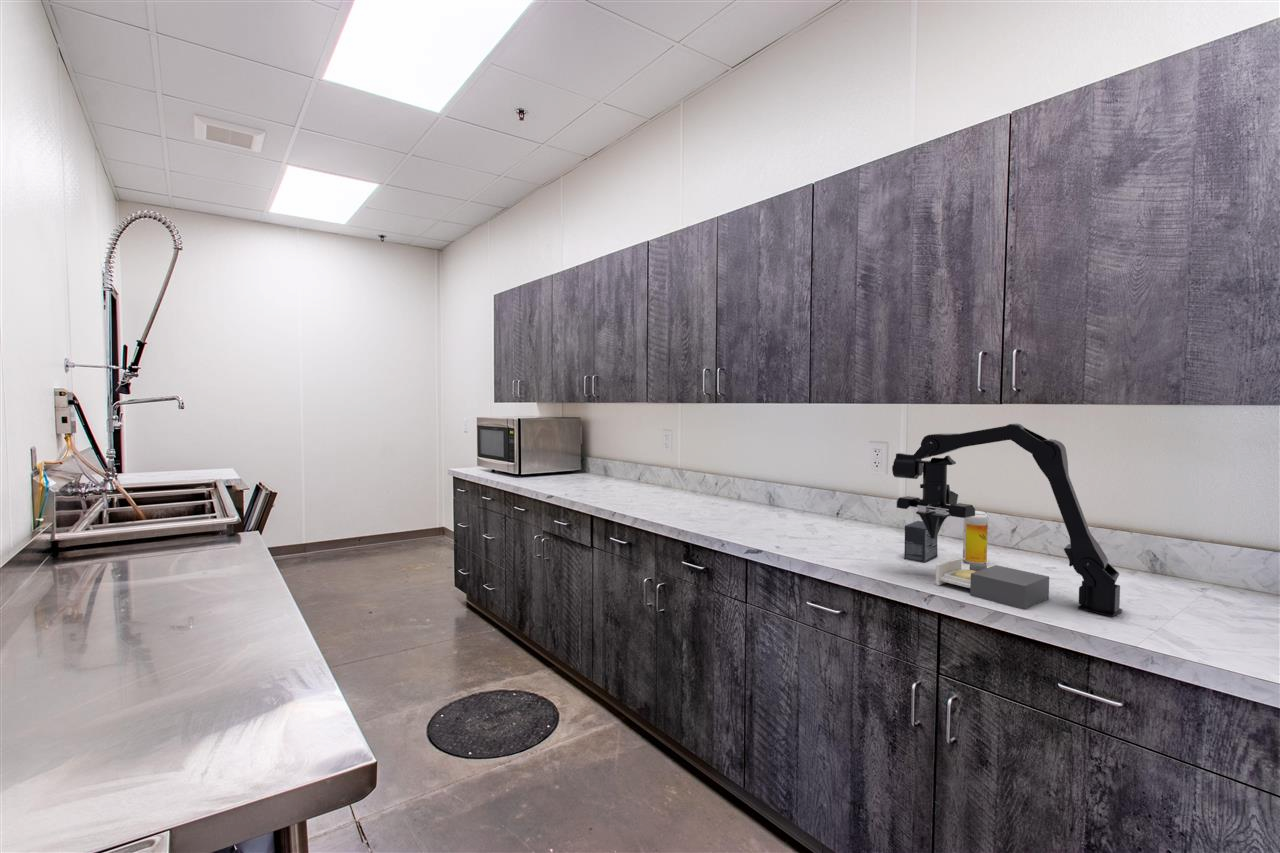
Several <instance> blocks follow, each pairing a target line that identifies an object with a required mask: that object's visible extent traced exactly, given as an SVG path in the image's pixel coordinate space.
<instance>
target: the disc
mask: <svg viewBox="0 0 1280 853" xmlns="http://www.w3.org/2000/svg"><path fill="white" fill-rule="evenodd" d="M974 572H977V571H973V570H970V569H963V568H961V569H960V570H956V571H955V577H959V578H963V579H967V580H971V573H974Z"/></svg>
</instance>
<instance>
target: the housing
mask: <svg viewBox="0 0 1280 853" xmlns="http://www.w3.org/2000/svg"><path fill="white" fill-rule="evenodd" d="M969 589H970V592H969V593H970V594H969V595H970V596H972V597H975V598H980V599H983V600H987V601H991V602H995V603H999V604H1002V605H1006V606H1010V607H1013V608H1018V609H1020V610H1021V609H1022V610H1026V609H1030V608H1031V607H1033V606H1036V605H1037V604H1040V603H1042V602H1044V600H1045V601H1046V599H1047V600H1049V599H1048V598H1050V576H1049V575H1045V574H1039V573H1034V572H1029V571H1025V570H1021V569H1016V568H1012V567H1011V568H1010V567H1008V566H1007V567H1006V566H1001V565H996V564H995V565H992V566H989V567H987V568H986V569H983V570H980V571H977V572H974V573H971V584H970V588H969ZM1035 604H1036V605H1035Z"/></svg>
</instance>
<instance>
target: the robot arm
mask: <svg viewBox="0 0 1280 853" xmlns="http://www.w3.org/2000/svg"><path fill="white" fill-rule="evenodd" d="M1004 441H1005V442H1006V441H1012V442H1013V443H1015V444H1016V445H1018V446H1019V447H1020V448H1022V449H1023V450H1025V451H1026V452H1028V453H1030V454H1031V455H1032V457H1033V460H1034V461H1035V463H1036V464H1037V466H1038V468H1039V469H1040V471H1041V472H1042V473H1043V475H1044V476H1045V477H1046V478H1047V480H1048V482H1049V484H1050V487H1051V490H1052V493H1053V495H1054V499H1055V502H1056V503H1057V506H1058V509H1059V512H1060V514H1061V517H1062V520H1063V523H1064V526H1065V528H1066V531H1067V534H1068V537H1069V540H1070V542H1069V543H1070V544H1069V543H1068V544H1067V545H1066V546H1065V547H1064V548H1063V550H1064V551H1063V552H1065V554H1066V556H1067V558H1068V561H1069V564H1068V565H1069V567H1073V570H1074V571H1075V572H1076V573H1077V574H1078V575H1080V576H1081V577H1082V579H1083V580H1082V581H1081V585H1080V586H1078V604H1079V605H1078V606H1077V608H1078V610H1079V609H1080V610H1084V611H1086V612H1091V613H1095V614H1100V615H1104V616H1107V617H1115V616H1116V615H1118V614H1120V613H1121V612H1123V608H1120V605H1121V604H1120V601H1121V600H1120V598H1121V585H1120V584H1116V582H1117V580H1118V578H1119V576H1120V572H1119V571H1117V570H1116V569H1115V568H1114V567H1113V566H1112V565H1111V564H1110V563H1109V561H1108V557H1107V555H1106V554H1105V552H1104V550H1103V548H1102V547H1101V546H1100V543H1099V542H1098V541H1097V540H1096V538H1094V536H1093V535H1092V533H1091V531H1090V528H1089V526H1088V523H1087V521H1086V518H1085V515H1084V513H1083V510H1082V507H1081V505H1080V502H1079V499H1078V497H1077V494H1076V491H1075V488H1074V486H1073V483H1072V481H1071V478H1070V475H1069V463H1068V462H1069V460H1068V454H1067V449H1066V446H1065V444H1063V443H1062V442H1061V441H1059V440H1057V439H1052V438H1051V439H1047V438H1046V437H1044V436H1042V435H1040V434H1039V433H1036V432H1034V431H1032V430H1029V429H1028V428H1026V427H1024V425H1022V424H1020V423H1009V424H1006V425H1003V426H997V427H992V428H991V427H990V428H986V429H980V430H972V431H968V432H961V433H932V434H927V435H925V436H924V437H923V438H922V440H921V442H920V447H919V448H918V449H917V450H916V451H915V453H914V454H908V453H902V452H899V453H898V452H897V453H896V454H895V458H894V460H893V464H892V466H891V471H892V475H893V477H894V478H900V479H912V480H917V479H919V477H921V476H922V484H921V483H920V484H919V488H920V489H922V498H920V497H918V496H917V497H916V496H910V495H909V496H907V495H906V496H901V497H899V498H898V499H897V500H896V506H895V507H896V508H898V509H905V510H908V509H909V508H910V507H911V508H912V507H913V508H917V511H915V513H916V514H917V515H919V517H920V519H921V521H923V522H924V524H925V526H926V528H927V530H928V532H929V534H930V537H931V538H932V539H936V537H937V538H938V534H939V533H940V530H941V528H942V526H943V524H944V522H945V521H946V519H947V518H948V517H953V518H954V517H955V518H961V519H964V518H967V517H971V516H975V511H976V508H975V506H973V504H969V503H968V504H967V503H960V502H958V499H959V494H958V493H956V492H954V491H952V490H951V487H950V484H947V482H948V480H947V479H948V478H947V476H948V466H953V465H954V466H955V465H956V463H957V462H956V461H955V460H954V459H952V457H951V456H950V455H948V453H951V452H953V451H957V450H959V449H962V448H966V447H972V446H979V445H985V444H993V443H998V442H1004ZM944 454H947V455H945V456H944V457H935V456H941V455H944ZM927 458H931V459H930V460H924V459H927Z"/></svg>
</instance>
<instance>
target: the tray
mask: <svg viewBox="0 0 1280 853" xmlns="http://www.w3.org/2000/svg"><path fill="white" fill-rule="evenodd" d="M960 569H962V558H955V559H951V560H948V561H944V562H941V563H937V564H935V585H936V586H942V585H944V584H951V585H956V586H960V587H964V588H968V589H970V584H971V580H967V579H963V578H959V577H955V571H956V570H960Z"/></svg>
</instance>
